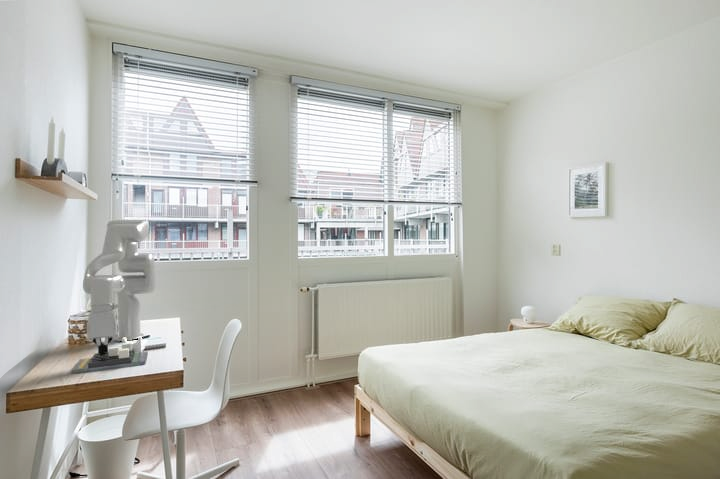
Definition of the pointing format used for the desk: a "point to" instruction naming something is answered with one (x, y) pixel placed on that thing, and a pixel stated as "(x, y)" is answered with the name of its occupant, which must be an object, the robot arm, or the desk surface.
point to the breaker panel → (109, 362)
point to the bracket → (136, 344)
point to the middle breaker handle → (113, 351)
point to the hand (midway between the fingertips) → (103, 354)
